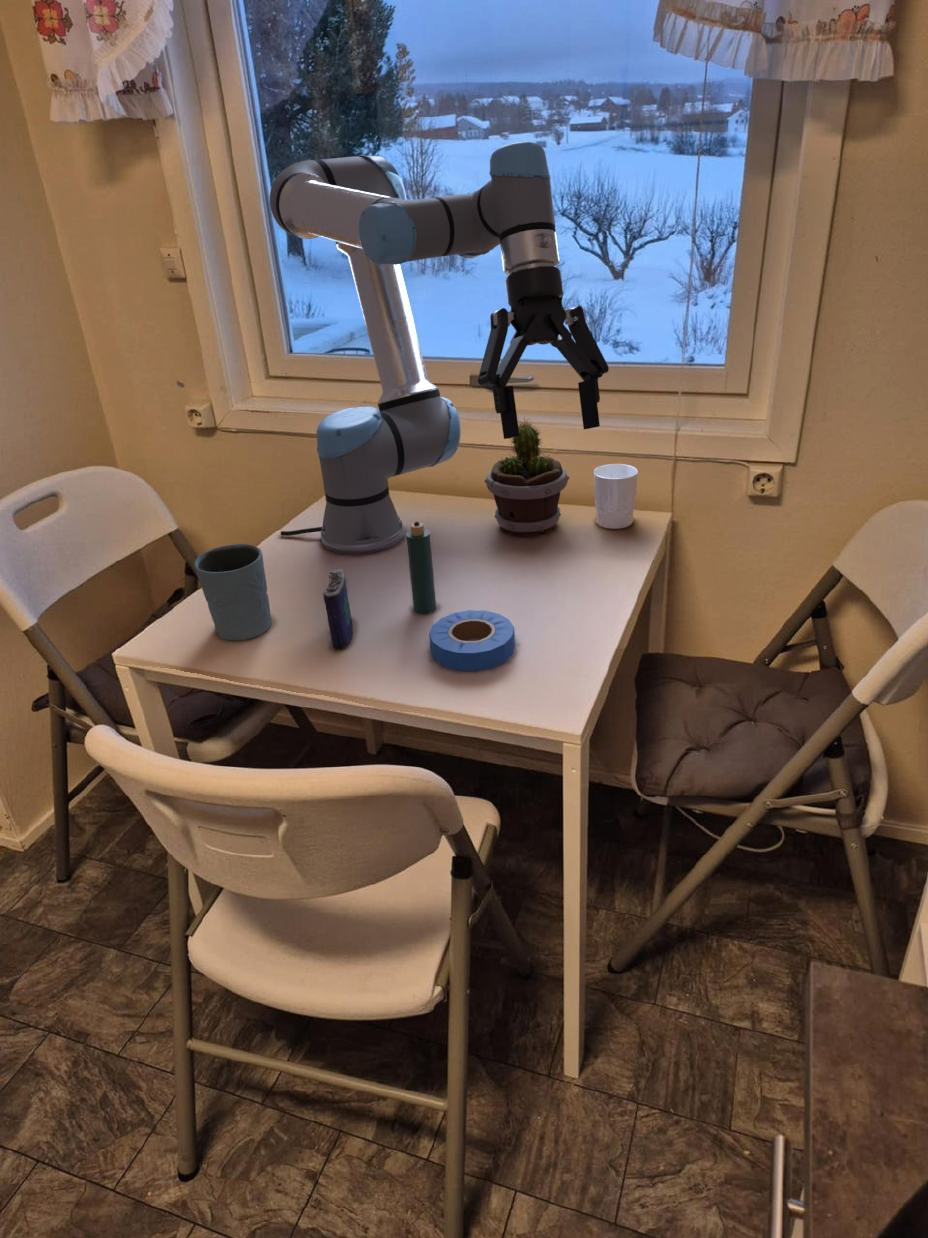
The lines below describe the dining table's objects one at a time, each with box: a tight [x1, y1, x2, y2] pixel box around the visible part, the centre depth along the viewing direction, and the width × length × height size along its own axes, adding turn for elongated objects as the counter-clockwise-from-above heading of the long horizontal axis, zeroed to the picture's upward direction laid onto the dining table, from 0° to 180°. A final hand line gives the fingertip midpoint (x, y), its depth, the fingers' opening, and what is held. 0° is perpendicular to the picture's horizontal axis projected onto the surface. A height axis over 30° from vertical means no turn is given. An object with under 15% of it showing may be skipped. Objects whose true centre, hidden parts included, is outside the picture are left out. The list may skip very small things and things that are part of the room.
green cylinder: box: [405, 521, 437, 615], centre depth 132 cm, size 4×4×15 cm
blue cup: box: [194, 543, 272, 642], centre depth 131 cm, size 10×10×12 cm
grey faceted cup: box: [593, 463, 639, 530], centre depth 157 cm, size 8×8×10 cm
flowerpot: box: [484, 417, 570, 537], centre depth 156 cm, size 14×15×20 cm
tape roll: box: [429, 609, 516, 672], centre depth 123 cm, size 12×12×3 cm
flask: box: [322, 568, 354, 651], centre depth 127 cm, size 9×3×11 cm, turn 1°
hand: (552, 432), depth 117 cm, fingers open, 13 cm apart
